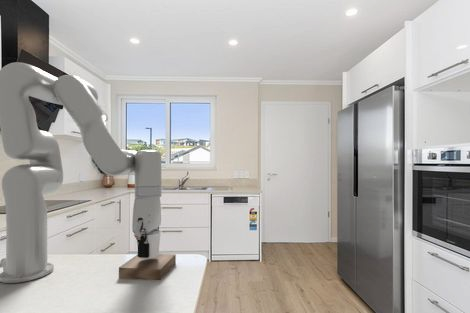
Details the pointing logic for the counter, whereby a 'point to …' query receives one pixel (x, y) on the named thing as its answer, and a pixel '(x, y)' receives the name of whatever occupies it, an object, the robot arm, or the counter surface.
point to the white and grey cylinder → (153, 243)
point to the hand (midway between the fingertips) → (148, 252)
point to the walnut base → (147, 267)
